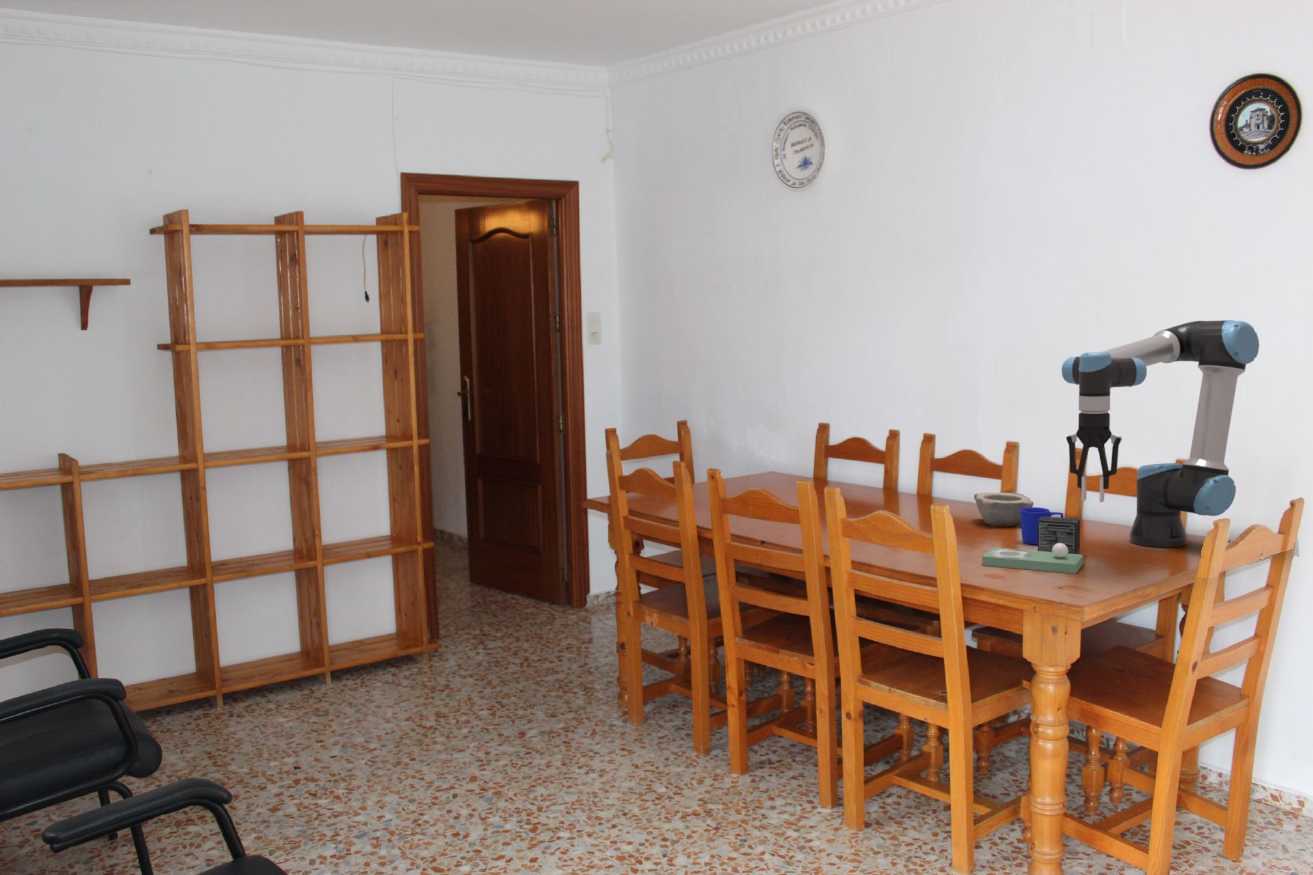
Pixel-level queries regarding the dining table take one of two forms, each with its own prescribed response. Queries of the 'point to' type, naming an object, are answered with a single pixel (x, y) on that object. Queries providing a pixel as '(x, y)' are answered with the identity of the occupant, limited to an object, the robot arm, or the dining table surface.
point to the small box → (1059, 533)
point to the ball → (1060, 550)
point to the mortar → (1001, 507)
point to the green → (1032, 560)
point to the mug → (1033, 522)
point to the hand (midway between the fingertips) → (1092, 500)
